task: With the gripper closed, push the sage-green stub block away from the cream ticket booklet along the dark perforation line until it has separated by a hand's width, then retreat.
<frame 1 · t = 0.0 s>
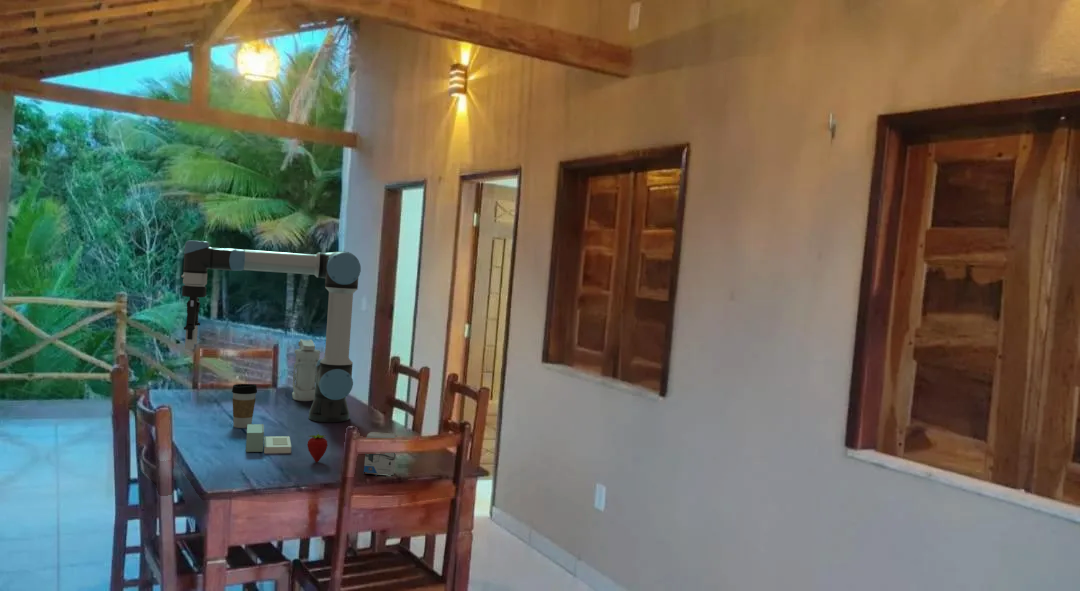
hand: (191, 346, 264), 28 cm above the table, fingers open, 13 cm apart
booklet: (277, 447, 246), on the table
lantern: (303, 398, 331), on the table
coffee cup: (242, 426, 272), on the table
strawberry: (316, 462, 234), on the table
ink box: (379, 474, 226), on the table
stub: (254, 437, 244), point 3 cm above the table, slide at 0.0 cm
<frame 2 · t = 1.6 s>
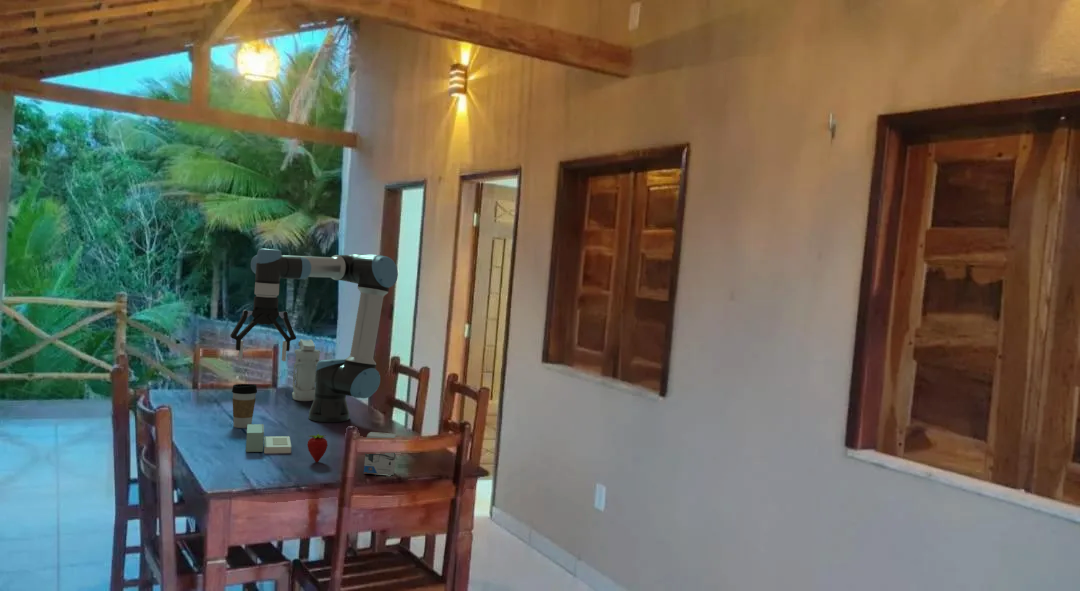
hand: (262, 360, 250), 27 cm above the table, fingers open, 13 cm apart
nothing on the table moved.
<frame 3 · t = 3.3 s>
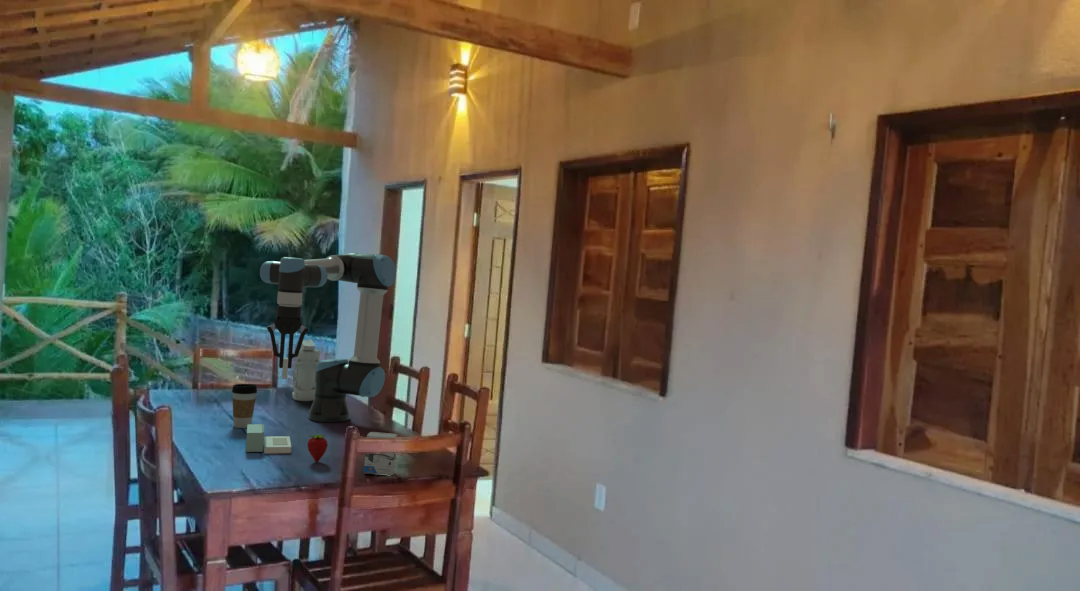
hand: (284, 378, 246), 23 cm above the table, fingers closed
nothing on the table moved.
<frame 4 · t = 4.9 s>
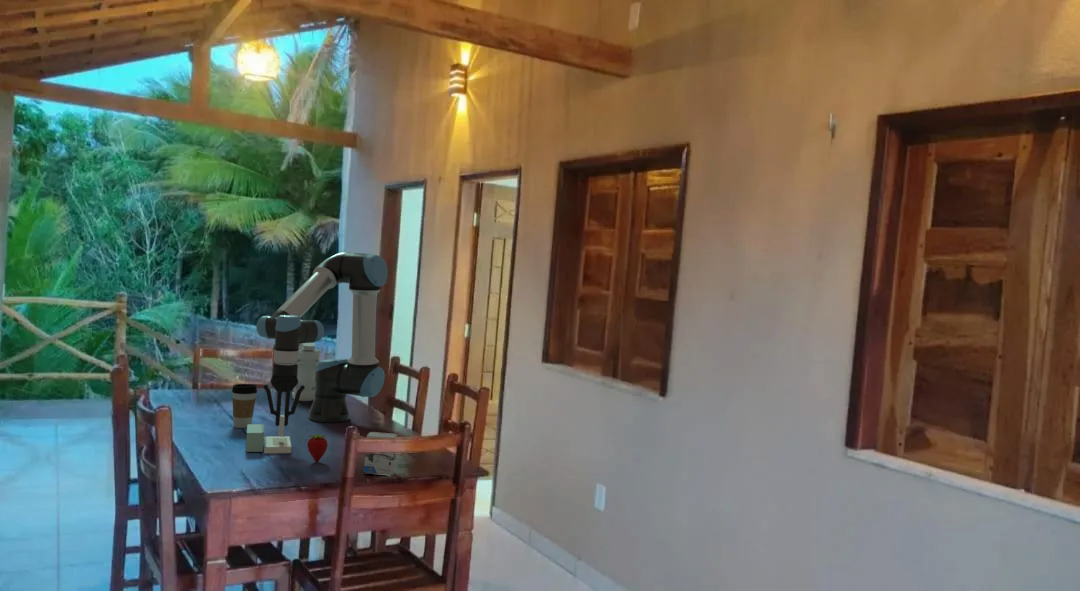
hand: (280, 435, 247), 4 cm above the table, fingers closed
nothing on the table moved.
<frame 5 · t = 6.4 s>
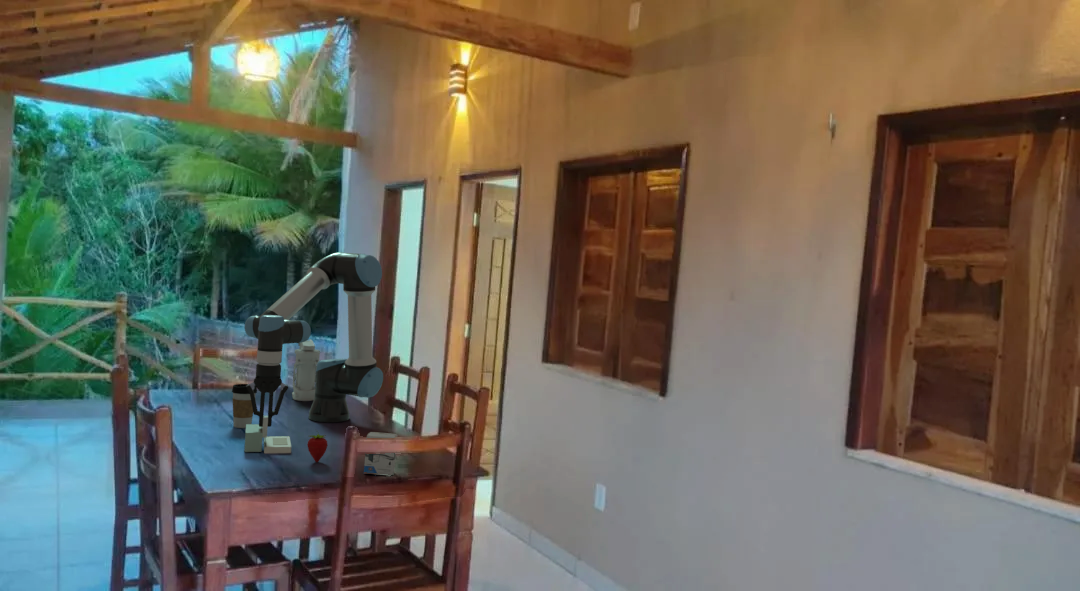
hand: (264, 436, 245), 4 cm above the table, fingers closed
stub: (253, 437, 244), point 3 cm above the table, slide at 0.4 cm, touching gripper
everything else where it was.
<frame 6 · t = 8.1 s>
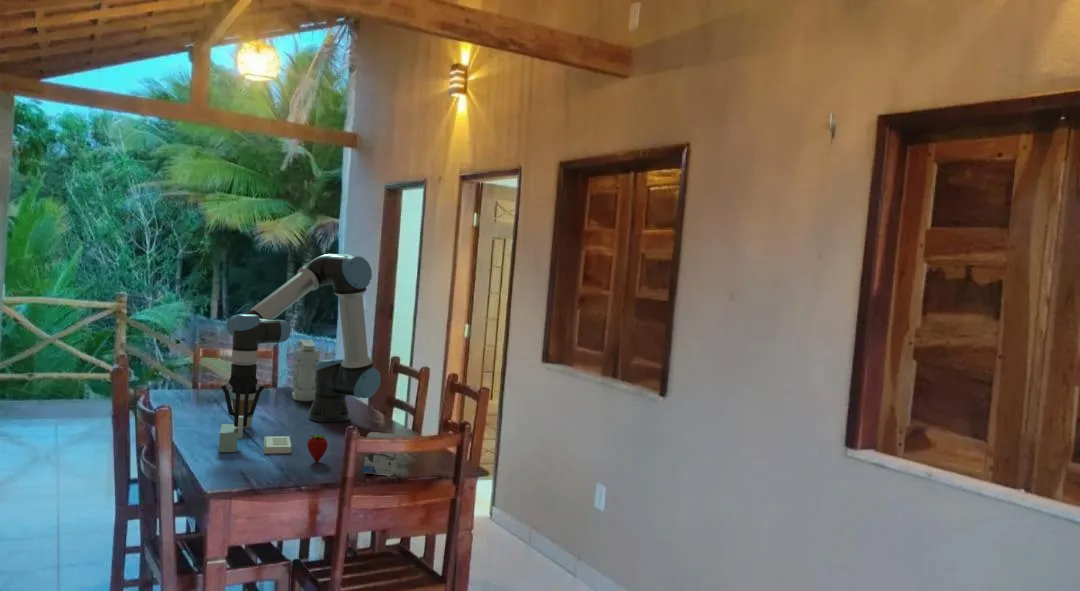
hand: (239, 436, 242), 4 cm above the table, fingers closed
stub: (228, 437, 241), point 3 cm above the table, slide at 7.8 cm, touching gripper
everything else where it was.
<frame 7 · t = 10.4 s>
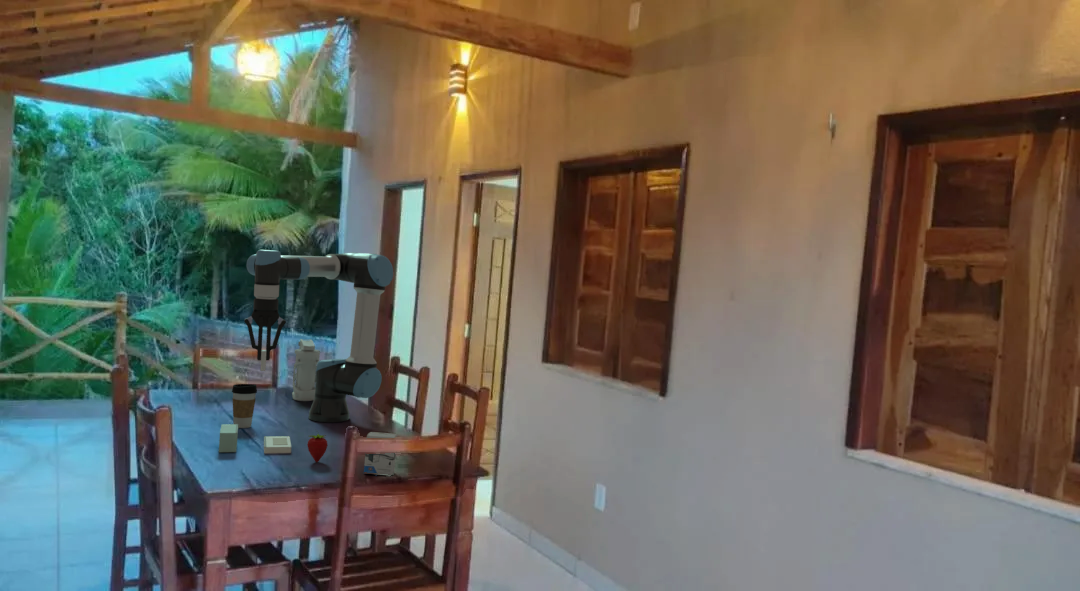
hand: (262, 370, 247), 24 cm above the table, fingers closed
stub: (228, 437, 241), point 3 cm above the table, slide at 7.8 cm
everything else where it was.
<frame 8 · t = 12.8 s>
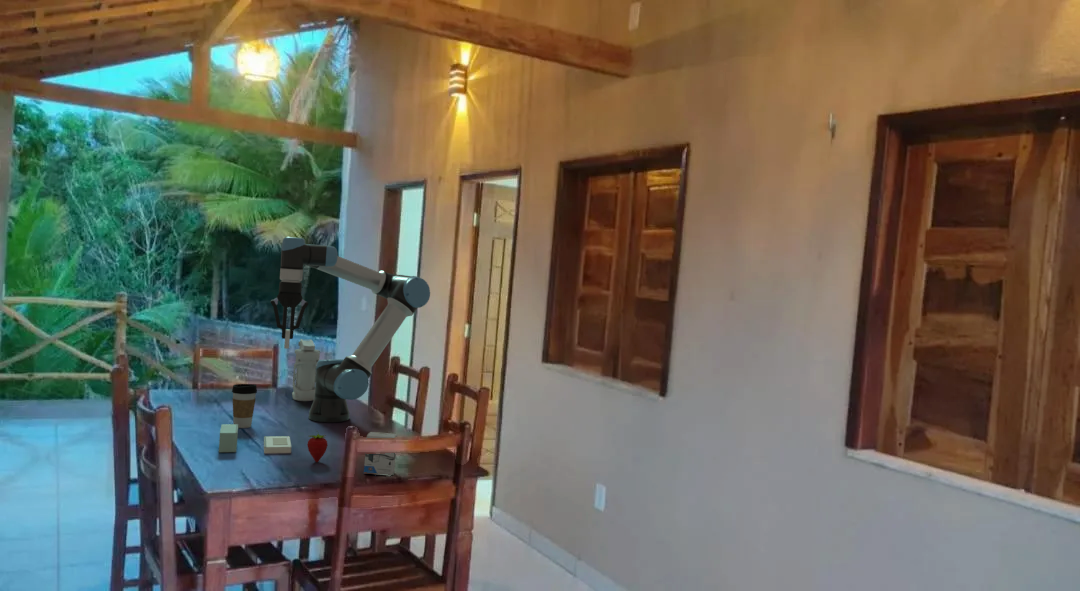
hand: (286, 348, 268), 29 cm above the table, fingers closed
nothing on the table moved.
at the end: stub slide at 7.8 cm; stub touching nothing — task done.
